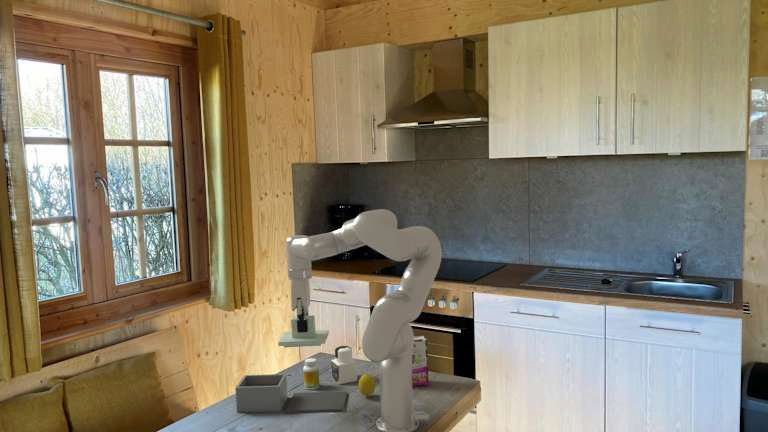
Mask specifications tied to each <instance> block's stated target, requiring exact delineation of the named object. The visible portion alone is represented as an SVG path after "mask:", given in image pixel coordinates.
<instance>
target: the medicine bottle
mask: <svg viewBox="0 0 768 432" xmlns="http://www.w3.org/2000/svg"><path fill="white" fill-rule="evenodd" d="M331 379H332V380H334V382H336V383H337V384H338V385H340V386H341V385H344V384H348V383H354V382H357V381H358V368H357V361H356V360H355V359H353V350H352V347H350V346H348V345H341V346H338V347H336V348H335V349H334V358H333V359H331Z"/></svg>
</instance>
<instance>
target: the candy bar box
mask: <svg viewBox="0 0 768 432" xmlns="http://www.w3.org/2000/svg"><path fill="white" fill-rule="evenodd" d="M423 386H429V365H428V341H427V338H426V337H425V335H420V336H419V335H417V336H415V335H414V344H413V351H412V388H413V387H423Z"/></svg>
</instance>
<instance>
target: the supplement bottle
mask: <svg viewBox="0 0 768 432" xmlns="http://www.w3.org/2000/svg"><path fill="white" fill-rule="evenodd" d="M302 369H303V370H302V371H303V373H302V375H303V388H304V389H306V390H317V389H318V388H320V370H319V369H320V368H319V365H318V364H317V359H316V358H312V357H310V358H306V359H305V360H304V366H303V368H302Z"/></svg>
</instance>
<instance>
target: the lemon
mask: <svg viewBox="0 0 768 432" xmlns="http://www.w3.org/2000/svg"><path fill="white" fill-rule="evenodd" d="M375 389H376V381H375V379H374V377H373V376H372V375H371V374H369V373H365V374H363V375H362V376H360V378H359V380H358V390H359V392H360V393H361V395H362V396H365V397H366V398H368V397H370V396H371V395H372V394H374V392H375Z"/></svg>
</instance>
